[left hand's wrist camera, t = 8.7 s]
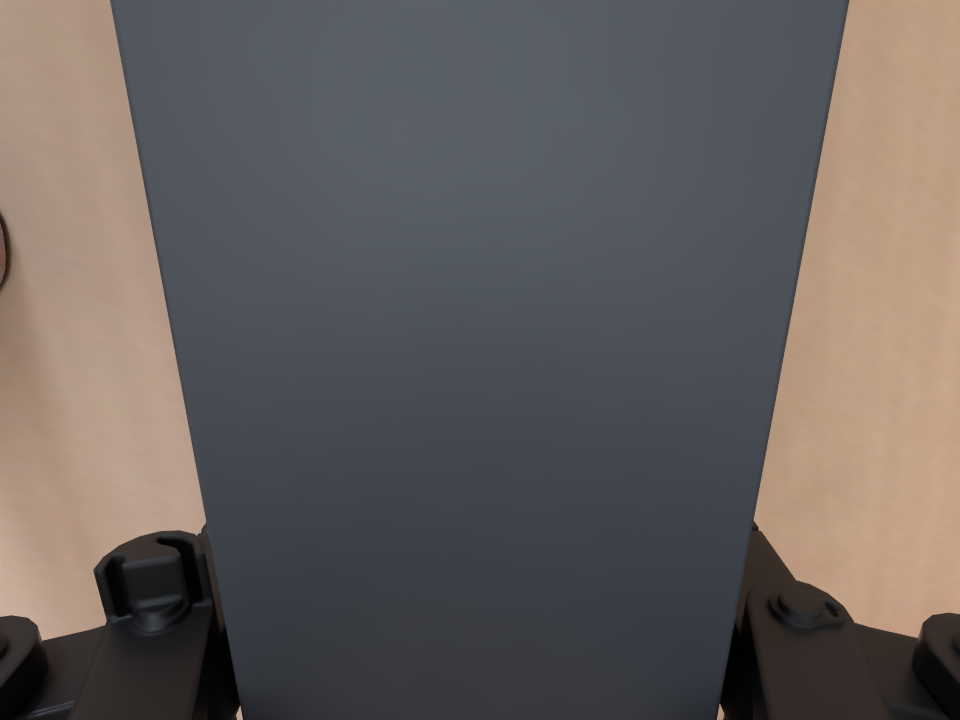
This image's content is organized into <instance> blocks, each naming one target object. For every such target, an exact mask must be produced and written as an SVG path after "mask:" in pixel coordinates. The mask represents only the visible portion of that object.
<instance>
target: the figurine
mask: <svg viewBox="0 0 960 720" xmlns="http://www.w3.org/2000/svg"><path fill="white" fill-rule="evenodd" d="M3 235H4V234H3V231H2V227H1V224H0V283H1V281H2V279H3V276H4V271H5V260H6V252H5V244H4V236H3Z"/></svg>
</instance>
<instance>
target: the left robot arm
mask: <svg viewBox="0 0 960 720" xmlns="http://www.w3.org/2000/svg"><path fill="white" fill-rule="evenodd" d="M93 571H94V575H95V578H96V582H97V586H98V589H99V593H100V597H101V601H102V604H103V608H104V612H105V615H106V619H107V622H106V625H105V626H101V627H98V628H95V629H91V630H88V631H83V632H79V633H74V634H70V635H66V636H61V637H57V638H53V639H48V640H44V641H42V639H41V636H40V633H39V629H38V626H37V625H36V624H35V623H34V622H32V621H31V620H30V619H29V618H26V617H19V616H12V615H11V616H4V617H0V720H237V717H236V714H237V712H238V709H239V707H240V701H239V695H238V690H237V684H236V679H235V673H234V668H233V663H232V657H231V652H230V646H229V641H228V636H227V630H226V625H225V619H224V614H223V608H222V603H221V598H220V592H219V587H218V581H217V576H216V571H215V565H214V560H213V554H212V549H211V544H210V538H209V533H208V527H207V522H206V524H205V525H204V527H203V528H202V530H201V533H199V534H198V535H197V536H196V535H195V534H192V533H188V532H184V531H180V530H179V531H160V532H156V533H152V534H148V535H143V536H140V537H137V538H135V539H133V540H131V541H128V542H126V543H124V544H122V545H120V546H118V547H117V548H115V549H114V550H113V551H111V552H110V553H108V554H107V555H106V556H104V557H103V558H102V560H101V561H100V562H99V563H98V565H97V566H96V567H95V568H94V570H93ZM720 705H721V707H722V709H723V712H724V717H723V720H960V614H954V613H944V614H937V615H932V616H931V617H930V618H928V619H927V620H926V621H925V622H924V623H923V625H922V628H921V631H920V634H919V637H918V638H914V637H910V636H906V635H901V634H897V633H892V632H888V631H884V630H879V629H875V628H870V627H867V626H864V625H860V624H857V623H854V621H853V619H852V618H851V616H850V615H849V613H848V612H847V610H846V609H845V607H844V606H843V605H842V604H840V603H839V602H838V601H837V600H835V599H834V598H833V597H832V596H830V595H829V594H828V593H826V592H824V591H822V590H820V589H818V588H816V587H814V586H812V585H810V584H807V583H804V582H800V581H797V580H795V578H794V577H793V575H792V574H791V573H790V571H789V570H788V568H787V567H786V566H785V564H784V563H783V561H782V560H781V558H780V557H779V556H778V554H777V553H776V551H775V550H774V549H773V547H772V546H771V544H770V543H769V542H768V540H767V539H766V537H765V536H764V535H763V533H762V532H761V531H759V529H758V526H757V525H756V523H755V522H754V520H753V525H752V530H751V536H750V541H749V547H748V552H747V558H746V563H745V568H744V574H743V579H742V585H741V590H740V596H739V601H738V606H737V612H736V617H735V623H734V628H733V633H732V639H731V644H730V650H729V655H728V661H727V666H726V671H725V677H724V682H723V688H722V693H721V699H720Z"/></svg>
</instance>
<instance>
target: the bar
mask: <svg viewBox="0 0 960 720" xmlns="http://www.w3.org/2000/svg"><path fill="white" fill-rule="evenodd" d="M110 2H111V7H112V13H113V18H114V24H115V29H116V35H117V40H118V45H119V51H120V56H121V62H122V67H123V72H124V78H125V83H126V89H127V94H128V100H129V105H130V110H131V116H132V121H133V127H134V132H135V137H136V143H137V148H138V154H139V159H140V165H141V170H142V175H143V181H144V186H145V192H146V197H147V202H148V208H149V213H150V219H151V224H152V229H153V235H154V240H155V246H156V251H157V257H158V262H159V267H160V273H161V278H162V284H163V289H164V294H165V300H166V305H167V311H168V316H169V322H170V327H171V332H172V338H173V343H174V349H175V354H176V359H177V365H178V370H179V376H180V381H181V386H182V392H183V397H184V403H185V408H186V414H187V419H188V424H189V430H190V435H191V441H192V446H193V451H194V457H195V462H196V468H197V473H198V479H199V484H200V489H201V495H202V500H203V506H204V511H205V516H206V522H207V527H208V533H209V538H210V544H211V549H212V554H213V560H214V565H215V571H216V576H217V581H218V587H219V592H220V598H221V603H222V608H223V614H224V619H225V625H226V630H227V636H228V641H229V646H230V652H231V657H232V663H233V668H234V673H235V679H236V684H237V690H238V695H239V701H240V706H241V711H242V717H243V720H717V715H718V709H719V704H720V699H721V693H722V688H723V682H724V677H725V671H726V666H727V661H728V655H729V650H730V644H731V639H732V633H733V628H734V623H735V617H736V612H737V606H738V601H739V596H740V590H741V585H742V579H743V574H744V568H745V563H746V558H747V552H748V547H749V541H750V536H751V530H752V525H753V520H754V514H755V509H756V503H757V498H758V492H759V487H760V482H761V476H762V471H763V465H764V460H765V455H766V449H767V444H768V438H769V433H770V427H771V422H772V417H773V411H774V406H775V400H776V395H777V389H778V384H779V379H780V373H781V368H782V362H783V357H784V351H785V346H786V341H787V335H788V330H789V324H790V319H791V314H792V308H793V303H794V297H795V292H796V286H797V281H798V276H799V270H800V265H801V259H802V254H803V248H804V243H805V238H806V232H807V227H808V221H809V216H810V210H811V205H812V200H813V194H814V189H815V183H816V178H817V172H818V167H819V162H820V156H821V151H822V145H823V140H824V135H825V129H826V124H827V118H828V113H829V107H830V102H831V97H832V91H833V86H834V80H835V75H836V69H837V64H838V59H839V53H840V48H841V42H842V37H843V31H844V26H845V21H846V15H847V10H848V4H849V0H110Z"/></svg>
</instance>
